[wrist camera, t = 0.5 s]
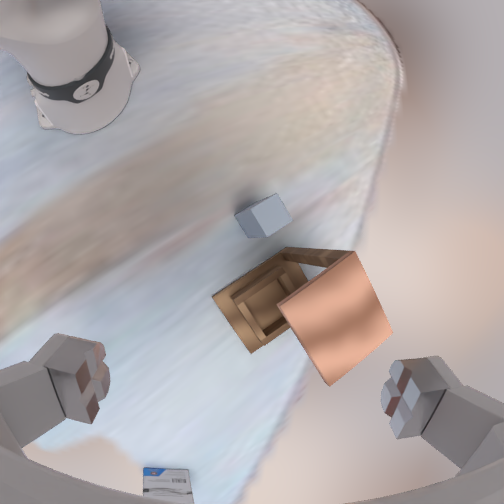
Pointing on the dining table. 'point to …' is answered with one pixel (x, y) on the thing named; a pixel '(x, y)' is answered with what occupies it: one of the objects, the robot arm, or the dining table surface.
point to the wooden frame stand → (309, 308)
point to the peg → (264, 217)
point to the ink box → (167, 485)
